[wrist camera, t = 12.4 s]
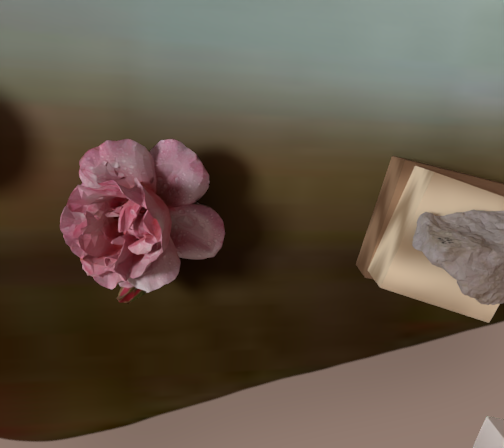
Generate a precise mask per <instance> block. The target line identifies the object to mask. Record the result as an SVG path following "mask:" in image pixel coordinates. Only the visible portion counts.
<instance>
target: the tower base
mask: <svg viewBox="0 0 504 448" xmlns="http://www.w3.org/2000/svg"><path fill="white" fill-rule="evenodd" d="M415 166H418V167H421V168H424V169H427V170H430V171H433V172H436V173H439V174H441V175H444V176H447V177H450V178H453V179H455V180H458V181H461V182H464V183H467V184H469V185H472V186H475V187H478V188H480V189H483V190H486V191H489V192H492V193H494V194H497V195H500V196H503V197H504V184H503V183H499V182H495V181H491V180H487V179H483V178H479V177H475V176H471V175H467V174H463V173H459V172H455V171H451V170H447V169H443V168H439V167H435V166H431V165H427V164H423V163H419V162H415V161H411V160H407V159H403V158H399V157H395V156H392V158H391V161H390V164H389V167H388V170H387V173H386V176H385V179H384V182H383V185H382V188H381V191H380V194H379V197H378V200H377V203H376V206H375V209H374V212H373V214H372V217H371V220H370V223H369V226H368V229H367V232H366V235H365V238H364V241H363V244H362V247H361V250H360V253H359V256H358V259H357V262H356V265H357V267H358V268H359V270H360V271H361V273H362V274H363V275H364V277H365V278H370V279H373V277H372V276H371V275H370V273H369V272H368V268H369V266H370V263H371V261H372V259H373V257H374V255H375V253H376V250H377V248H378V246H379V244H380V242H381V239H382V237H383V235H384V233H385V231H386V228H387V226H388V224H389V222H390V220H391V217H392V215H393V213H394V211H395V209H396V206H397V204H398V202H399V200H400V198H401V195H402V193H403V191H404V189H405V187H406V185H407V182H408V180H409V178H410V176H411V174H412V171H413V169H414V167H415Z"/></svg>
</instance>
